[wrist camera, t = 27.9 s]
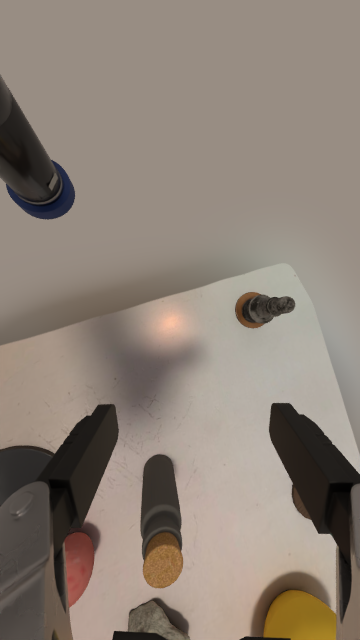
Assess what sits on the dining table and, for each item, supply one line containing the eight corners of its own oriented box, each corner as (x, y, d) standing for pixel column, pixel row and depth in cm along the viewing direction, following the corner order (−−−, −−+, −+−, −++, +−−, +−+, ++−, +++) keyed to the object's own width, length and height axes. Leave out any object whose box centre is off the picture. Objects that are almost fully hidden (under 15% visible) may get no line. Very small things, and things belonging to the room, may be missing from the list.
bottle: (141, 458, 36) (134, 550, 21) (171, 451, 37) (184, 533, 22) (145, 488, 36) (141, 603, 21) (175, 480, 36) (191, 583, 22)
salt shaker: (268, 318, 41) (316, 314, 29) (245, 327, 40) (285, 327, 28) (259, 294, 41) (303, 279, 29) (236, 302, 40) (272, 291, 28)
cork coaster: (228, 303, 40) (229, 303, 40) (257, 286, 41) (258, 285, 41) (246, 334, 40) (247, 334, 40) (274, 316, 42) (276, 316, 41)
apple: (48, 557, 32) (15, 631, 25) (67, 515, 33) (40, 572, 25) (89, 567, 33) (70, 640, 26) (106, 525, 34) (92, 584, 26)
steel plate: (-77, 494, 30) (-83, 498, 29) (41, 423, 33) (38, 425, 33) (-12, 592, 31) (-16, 599, 30) (97, 513, 34) (96, 518, 33)
